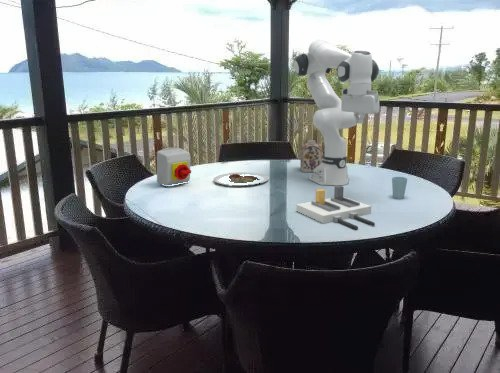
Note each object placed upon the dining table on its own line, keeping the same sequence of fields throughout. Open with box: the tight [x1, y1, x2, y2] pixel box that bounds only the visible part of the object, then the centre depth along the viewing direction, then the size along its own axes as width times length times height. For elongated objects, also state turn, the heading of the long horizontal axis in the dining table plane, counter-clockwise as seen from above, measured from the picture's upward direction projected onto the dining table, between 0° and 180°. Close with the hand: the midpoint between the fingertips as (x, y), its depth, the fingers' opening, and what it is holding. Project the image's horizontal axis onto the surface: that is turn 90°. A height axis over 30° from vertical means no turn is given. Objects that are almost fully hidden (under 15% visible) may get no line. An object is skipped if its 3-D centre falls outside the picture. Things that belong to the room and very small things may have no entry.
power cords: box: [332, 212, 376, 230], centre depth 158 cm, size 12×10×2 cm
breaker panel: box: [295, 196, 372, 224], centre depth 171 cm, size 18×24×4 cm
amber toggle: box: [315, 188, 326, 205], centre depth 171 cm, size 2×3×6 cm, turn 118°
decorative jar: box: [300, 140, 323, 173], centre depth 250 cm, size 12×12×18 cm
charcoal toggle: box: [333, 185, 344, 201], centre depth 176 cm, size 2×3×6 cm, turn 118°
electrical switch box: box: [156, 147, 192, 185], centre depth 221 cm, size 14×15×20 cm
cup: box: [391, 176, 408, 200], centre depth 190 cm, size 7×7×9 cm
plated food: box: [213, 172, 270, 187], centre depth 228 cm, size 30×30×3 cm
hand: (359, 123), depth 181 cm, fingers closed
